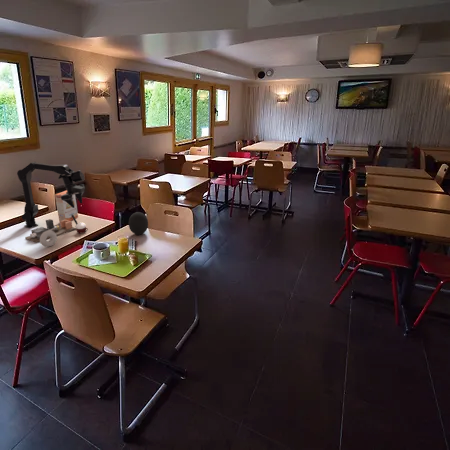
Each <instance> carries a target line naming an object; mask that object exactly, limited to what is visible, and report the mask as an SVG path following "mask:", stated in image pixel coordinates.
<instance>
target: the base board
mask: <svg viewBox="0 0 450 450" xmlns="http://www.w3.org/2000/svg"><path fill="white" fill-rule="evenodd" d="M58 226H59V225H58ZM30 231H31V234H32V233H36V235H37V237H35V238H31V236H30V235H29V236H25V240H27V241H31V242H32V243H35V244H38V243H40V236H41V234H42V233H43V232H45V231H48V228H47V227H45V226H40V227H37V228H34V229H31V230H30ZM74 231H76V228H75V227H74V226H72V228H70V229H66V227H63V228H61V225H60V226H59V230H57V231H54V232H55V233H56V235H57V237H58V236H61V235H65V234H68V233H70V232H74ZM50 239H51V237H50V236H48V237H47V238H46V241H48V240H50Z"/></svg>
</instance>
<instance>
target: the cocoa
mask: <svg viewBox="0 0 450 450" xmlns="http://www.w3.org/2000/svg"><path fill="white" fill-rule="evenodd" d="M72 217H73V221H74V223H75V227H74V228H76V230H75V231H76V232H77V234H84V233H86V232H87V231H88V230H89V229H88V227H87V226H86V223H84V222H83V221H82V222H81V221H80V222H78V221H77V220H76V219H77V218H75V217H74V215H73V214H72Z"/></svg>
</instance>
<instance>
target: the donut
mask: <svg viewBox="0 0 450 450" xmlns="http://www.w3.org/2000/svg"><path fill="white" fill-rule="evenodd" d="M48 236H50V237H51V238H50V239H48V240H46V238H47V237H48ZM57 241H58V236H57V235H56V233H55V232H53V231H50V230H48V231H45V232H43V233H42V234H41V236H40V242H39V243H40V244H41V245H42V247H47V248H49V247H52V246H54V245H55V244H56V242H57Z"/></svg>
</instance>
